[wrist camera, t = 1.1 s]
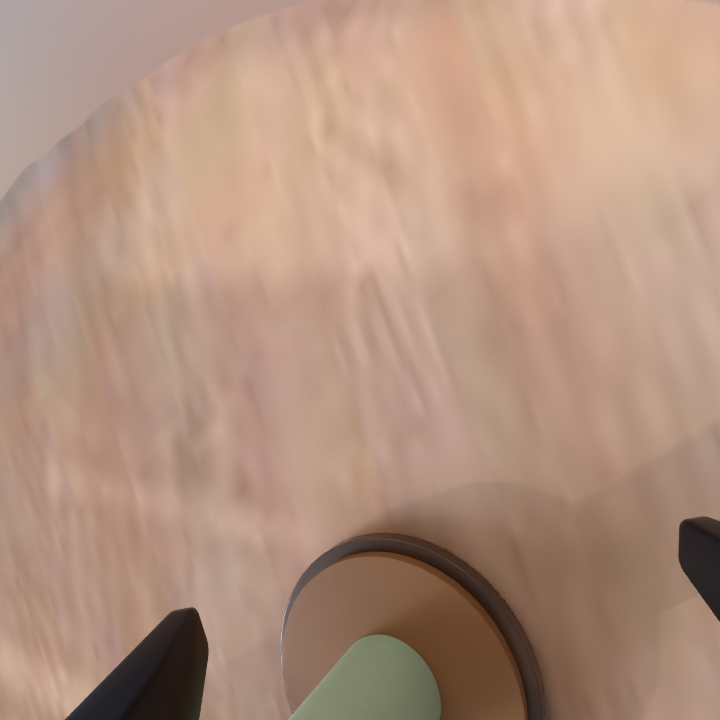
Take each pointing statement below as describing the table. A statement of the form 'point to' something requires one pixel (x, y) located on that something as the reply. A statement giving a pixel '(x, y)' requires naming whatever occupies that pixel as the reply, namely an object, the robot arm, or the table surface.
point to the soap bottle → (395, 647)
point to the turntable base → (463, 577)
